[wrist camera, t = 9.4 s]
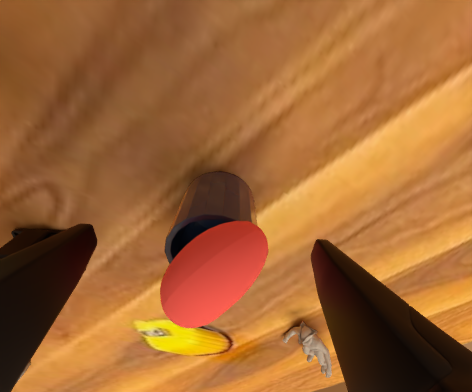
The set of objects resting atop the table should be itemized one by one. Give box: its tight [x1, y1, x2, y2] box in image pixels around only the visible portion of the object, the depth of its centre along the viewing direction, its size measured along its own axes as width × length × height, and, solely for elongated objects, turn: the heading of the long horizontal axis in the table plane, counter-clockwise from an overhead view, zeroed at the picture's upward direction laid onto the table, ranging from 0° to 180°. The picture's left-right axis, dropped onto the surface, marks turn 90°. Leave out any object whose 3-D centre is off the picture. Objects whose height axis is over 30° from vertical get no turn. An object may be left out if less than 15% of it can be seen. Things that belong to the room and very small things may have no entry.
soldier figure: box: [283, 321, 332, 378], centre depth 34 cm, size 8×5×12 cm
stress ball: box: [160, 221, 268, 328], centre depth 15 cm, size 5×9×6 cm, turn 132°
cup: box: [165, 172, 257, 264], centre depth 20 cm, size 7×7×8 cm
